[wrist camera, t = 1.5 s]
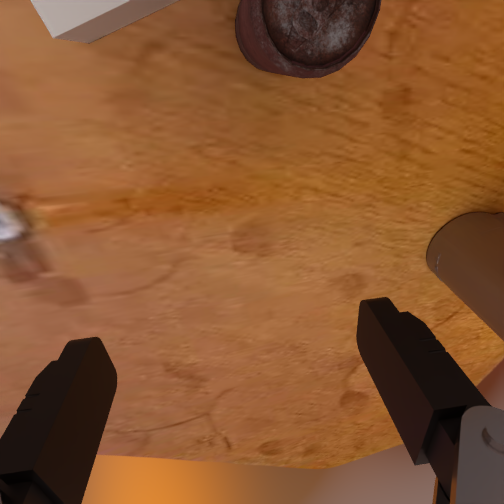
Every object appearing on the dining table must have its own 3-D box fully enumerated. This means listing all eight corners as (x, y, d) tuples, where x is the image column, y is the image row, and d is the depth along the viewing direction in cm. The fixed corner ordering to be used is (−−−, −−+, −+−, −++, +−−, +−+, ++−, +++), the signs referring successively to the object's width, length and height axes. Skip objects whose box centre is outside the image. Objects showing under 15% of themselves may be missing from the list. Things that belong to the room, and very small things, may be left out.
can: (312, -26, 24) (408, -112, 12) (306, 70, 27) (377, 77, 15) (232, -26, 24) (250, -117, 12) (236, 72, 27) (253, 80, 15)
